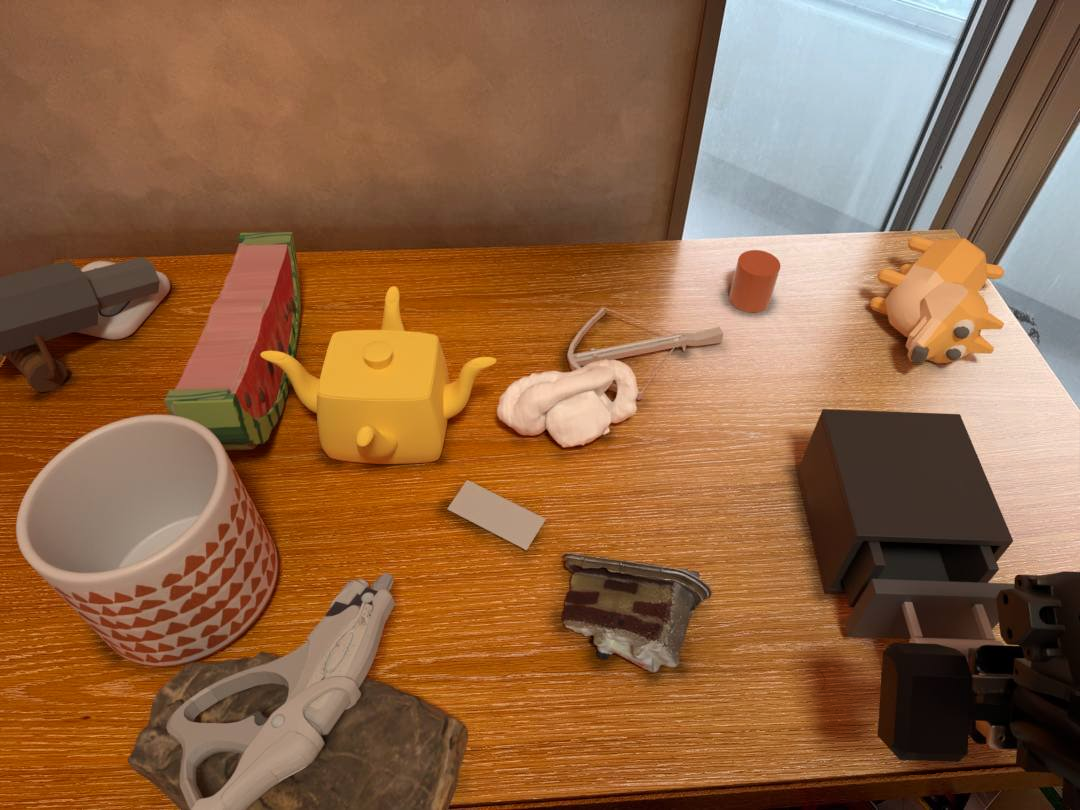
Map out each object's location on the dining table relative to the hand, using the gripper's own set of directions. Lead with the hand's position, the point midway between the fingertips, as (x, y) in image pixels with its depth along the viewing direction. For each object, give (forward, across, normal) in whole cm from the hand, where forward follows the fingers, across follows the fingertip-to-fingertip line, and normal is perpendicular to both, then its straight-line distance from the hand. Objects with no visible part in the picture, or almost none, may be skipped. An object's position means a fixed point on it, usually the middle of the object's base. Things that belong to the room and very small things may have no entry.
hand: (973, 655), depth 56 cm
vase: (+9, +56, 0) cm, 57 cm away
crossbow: (+30, +19, -20) cm, 40 cm away
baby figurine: (+22, +29, -19) cm, 41 cm away
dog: (+34, -6, -29) cm, 45 cm away
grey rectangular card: (+14, +33, -6) cm, 37 cm away
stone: (0, +45, +9) cm, 46 cm away
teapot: (+22, +44, -12) cm, 50 cm away
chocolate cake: (+8, +23, +2) cm, 24 cm away
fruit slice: (+24, +56, -14) cm, 63 cm away
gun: (0, +50, +2) cm, 50 cm away
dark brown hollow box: (+15, +1, -5) cm, 16 cm away
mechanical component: (+22, +75, -25) cm, 82 cm away
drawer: (+10, +1, -1) cm, 10 cm away
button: (+36, +74, -27) cm, 86 cm away
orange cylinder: (+36, +7, -26) cm, 45 cm away
